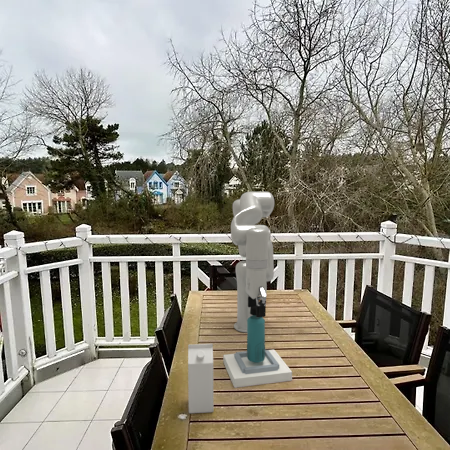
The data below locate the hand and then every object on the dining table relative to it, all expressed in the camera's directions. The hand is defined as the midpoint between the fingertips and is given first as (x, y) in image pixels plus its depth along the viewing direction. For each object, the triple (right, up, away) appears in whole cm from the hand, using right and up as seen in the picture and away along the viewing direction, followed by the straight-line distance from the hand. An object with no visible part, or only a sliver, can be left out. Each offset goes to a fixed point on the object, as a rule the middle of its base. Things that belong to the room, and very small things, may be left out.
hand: (256, 311), depth 121 cm
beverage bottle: (0, -19, +2) cm, 19 cm away
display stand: (0, -22, +2) cm, 22 cm away
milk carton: (-18, -24, -18) cm, 35 cm away
